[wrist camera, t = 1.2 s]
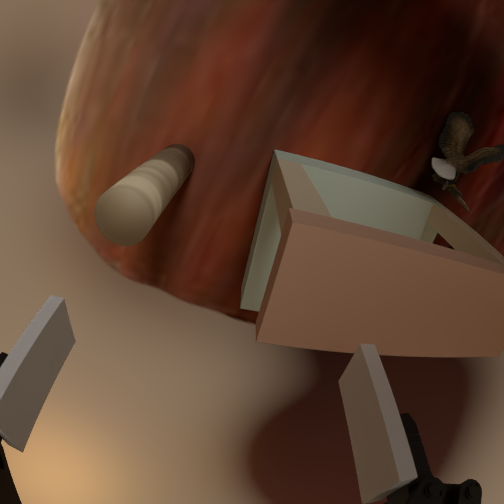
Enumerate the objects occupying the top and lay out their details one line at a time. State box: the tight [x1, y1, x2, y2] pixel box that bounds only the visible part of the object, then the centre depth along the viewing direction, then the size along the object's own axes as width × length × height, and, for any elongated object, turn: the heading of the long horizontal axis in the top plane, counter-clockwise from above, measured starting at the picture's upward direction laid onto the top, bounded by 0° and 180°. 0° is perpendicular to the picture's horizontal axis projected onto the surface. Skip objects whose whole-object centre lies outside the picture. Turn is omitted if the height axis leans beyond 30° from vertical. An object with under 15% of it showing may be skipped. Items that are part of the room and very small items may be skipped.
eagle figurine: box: [431, 111, 504, 211], centre depth 25 cm, size 8×7×9 cm
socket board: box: [240, 150, 446, 311], centre depth 31 cm, size 16×18×4 cm
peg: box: [95, 144, 195, 246], centre depth 23 cm, size 4×4×14 cm
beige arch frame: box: [256, 158, 504, 357], centre depth 20 cm, size 6×19×14 cm, turn 78°
